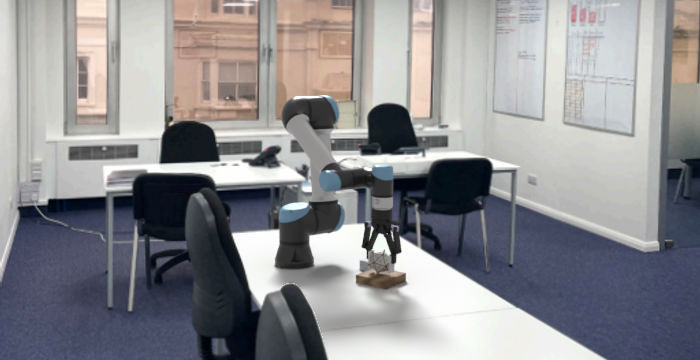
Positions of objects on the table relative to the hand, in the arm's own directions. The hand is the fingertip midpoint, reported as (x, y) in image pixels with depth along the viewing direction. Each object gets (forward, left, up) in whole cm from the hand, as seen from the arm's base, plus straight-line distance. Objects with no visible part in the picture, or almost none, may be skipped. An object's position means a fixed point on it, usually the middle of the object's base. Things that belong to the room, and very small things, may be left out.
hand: (381, 270), depth 292 cm
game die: (0, 0, -1) cm, 1 cm away
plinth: (0, 0, -4) cm, 4 cm away
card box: (-12, +13, -5) cm, 18 cm away
